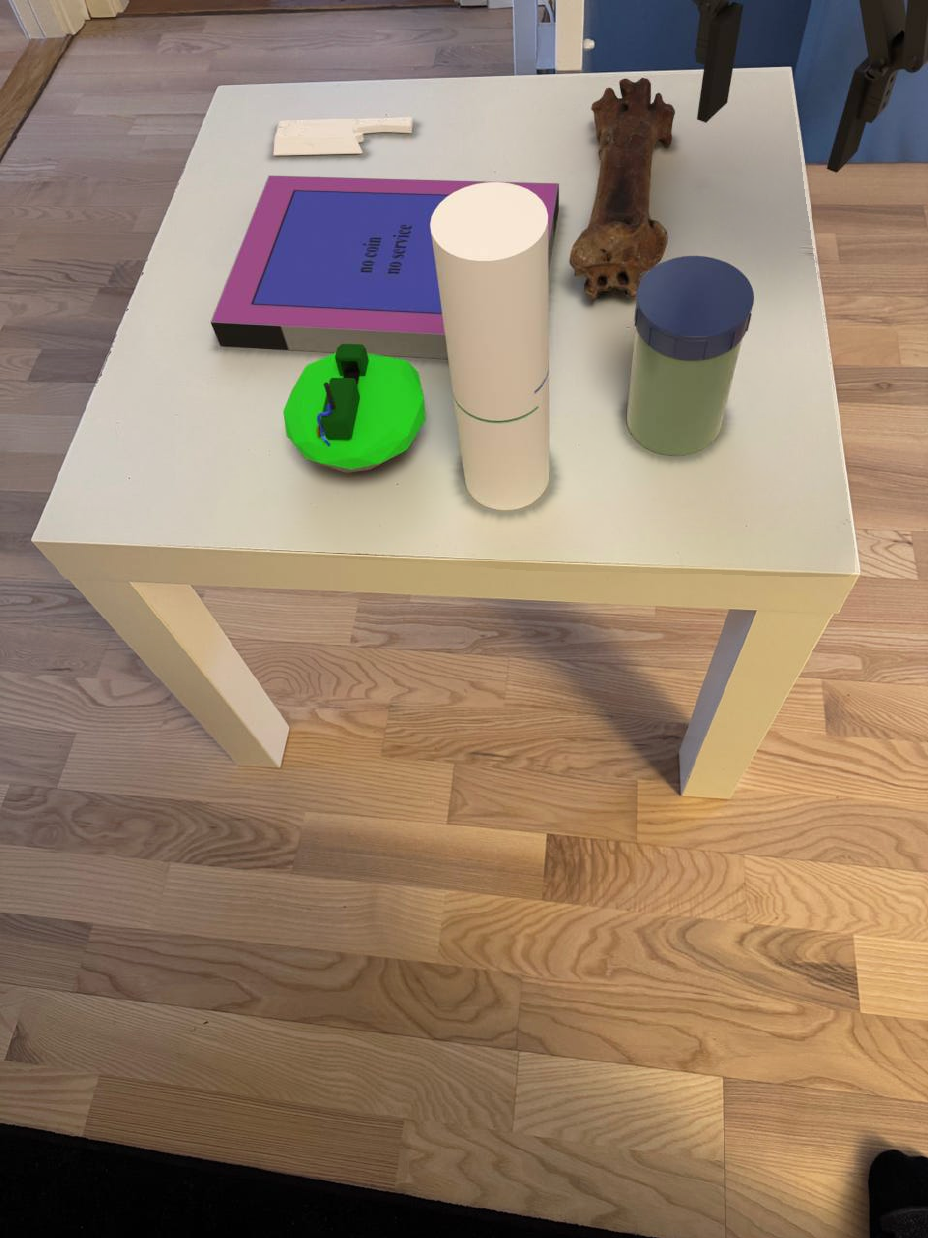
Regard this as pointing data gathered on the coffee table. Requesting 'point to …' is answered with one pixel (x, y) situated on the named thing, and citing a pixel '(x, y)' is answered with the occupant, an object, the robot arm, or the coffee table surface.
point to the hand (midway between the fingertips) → (775, 134)
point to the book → (344, 266)
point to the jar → (677, 399)
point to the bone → (624, 191)
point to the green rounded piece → (355, 409)
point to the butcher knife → (332, 134)
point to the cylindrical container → (497, 336)
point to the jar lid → (693, 307)
